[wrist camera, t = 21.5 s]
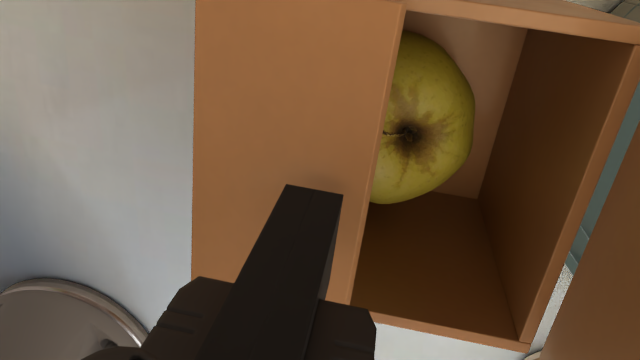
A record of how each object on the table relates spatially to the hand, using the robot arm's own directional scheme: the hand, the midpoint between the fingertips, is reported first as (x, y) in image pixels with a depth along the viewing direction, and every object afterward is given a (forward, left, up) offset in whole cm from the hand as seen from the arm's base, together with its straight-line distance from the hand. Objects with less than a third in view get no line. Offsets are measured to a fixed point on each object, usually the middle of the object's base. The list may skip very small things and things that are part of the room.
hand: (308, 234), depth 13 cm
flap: (-1, 0, -3) cm, 3 cm away
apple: (+2, 0, -17) cm, 17 cm away
